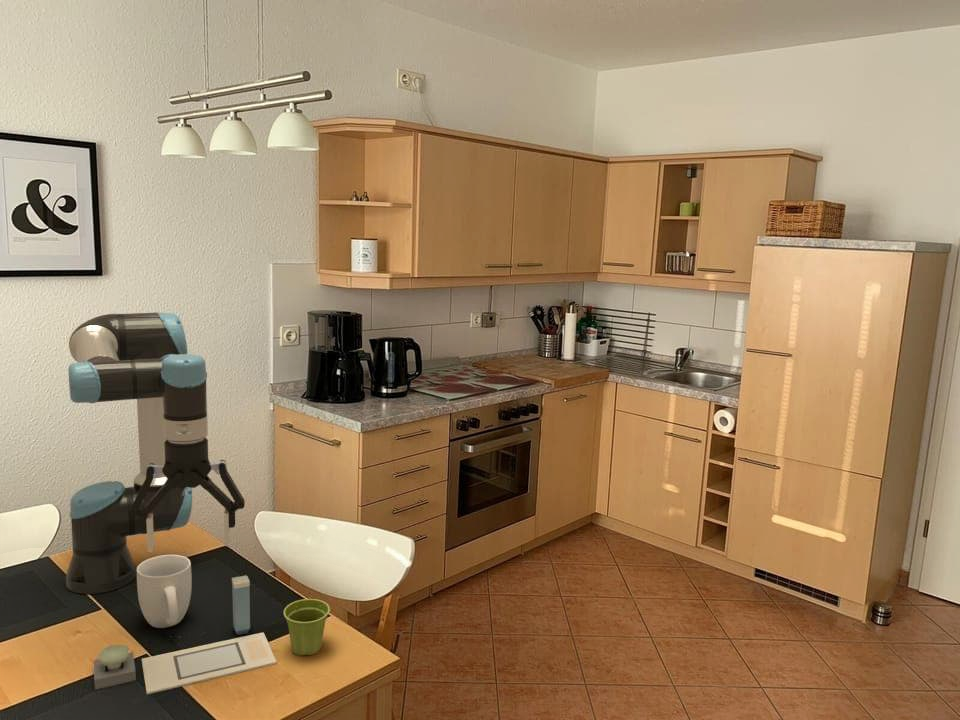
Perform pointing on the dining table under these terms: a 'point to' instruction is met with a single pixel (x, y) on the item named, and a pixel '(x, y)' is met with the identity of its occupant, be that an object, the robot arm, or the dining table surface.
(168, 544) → the dining table surface
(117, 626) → the dining table surface
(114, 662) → the button
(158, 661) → the sheet
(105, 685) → the button housing
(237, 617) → the square grey prism
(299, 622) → the plant pot
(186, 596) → the mug
